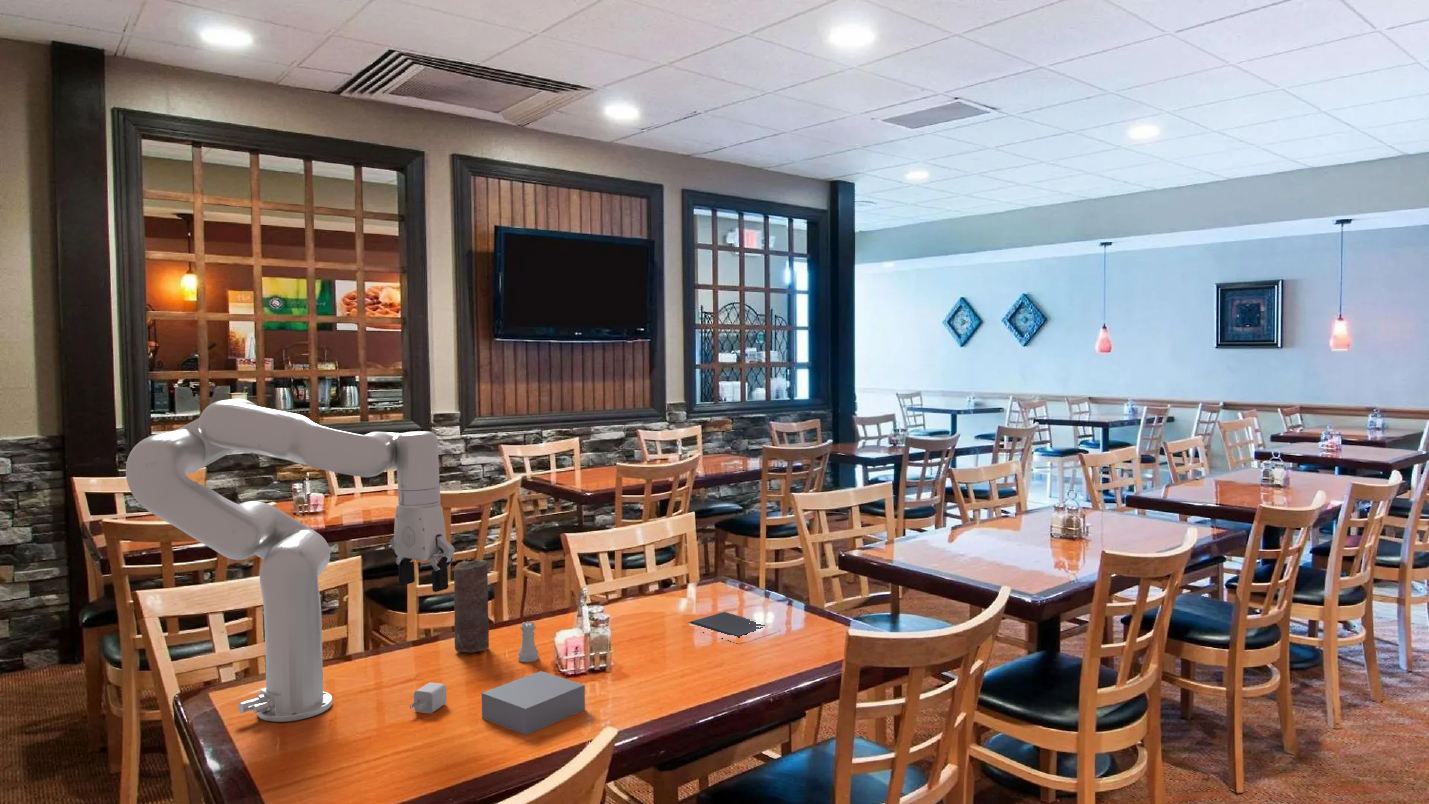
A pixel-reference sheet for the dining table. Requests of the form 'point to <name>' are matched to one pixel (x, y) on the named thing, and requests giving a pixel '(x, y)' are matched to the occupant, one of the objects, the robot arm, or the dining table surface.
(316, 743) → the dining table surface
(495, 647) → the dining table surface
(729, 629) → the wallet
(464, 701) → the dining table surface
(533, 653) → the rook chess piece
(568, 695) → the base block
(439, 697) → the usb wall charger
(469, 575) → the dark brown rough pillar
